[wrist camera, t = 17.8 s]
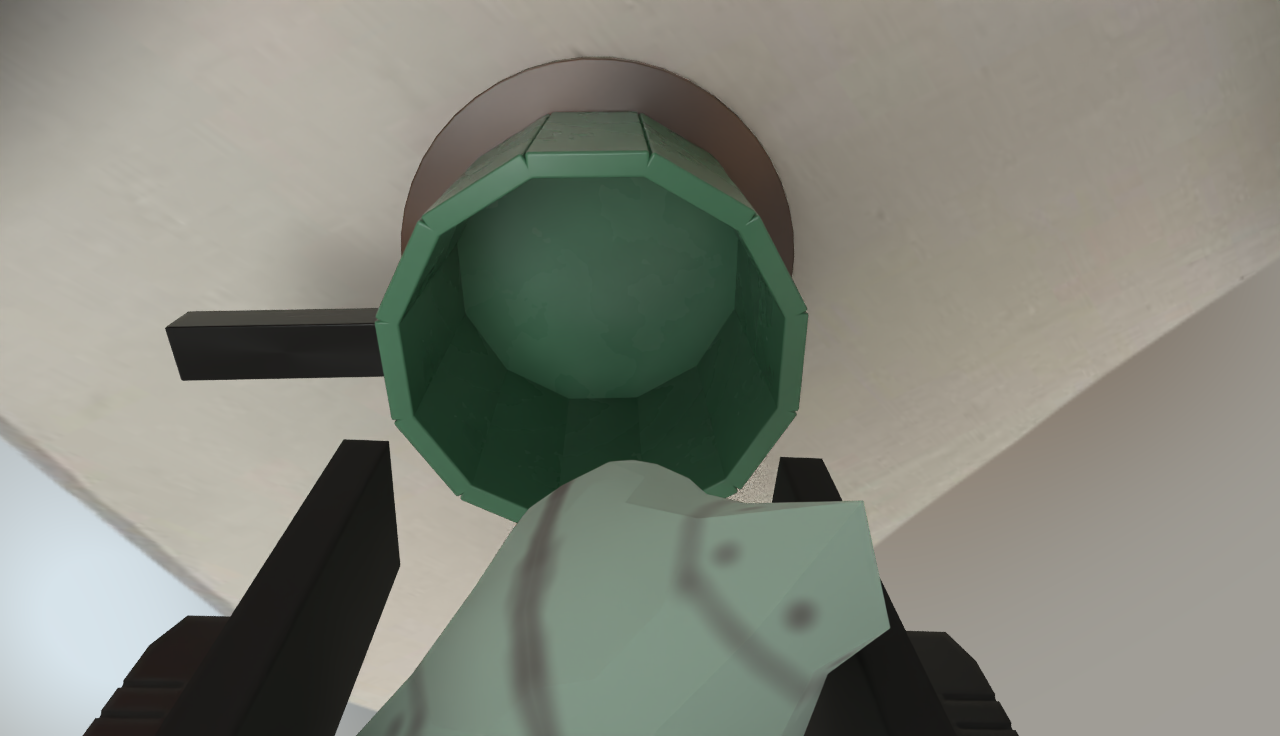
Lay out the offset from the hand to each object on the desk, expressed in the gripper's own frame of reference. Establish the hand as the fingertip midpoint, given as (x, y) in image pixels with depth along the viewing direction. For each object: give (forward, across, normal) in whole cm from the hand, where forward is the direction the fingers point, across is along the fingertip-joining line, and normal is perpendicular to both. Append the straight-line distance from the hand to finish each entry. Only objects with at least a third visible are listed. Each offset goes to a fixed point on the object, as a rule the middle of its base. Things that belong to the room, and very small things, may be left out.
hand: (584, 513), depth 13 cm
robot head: (+1, +1, 0) cm, 1 cm away
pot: (+14, -3, 0) cm, 14 cm away
